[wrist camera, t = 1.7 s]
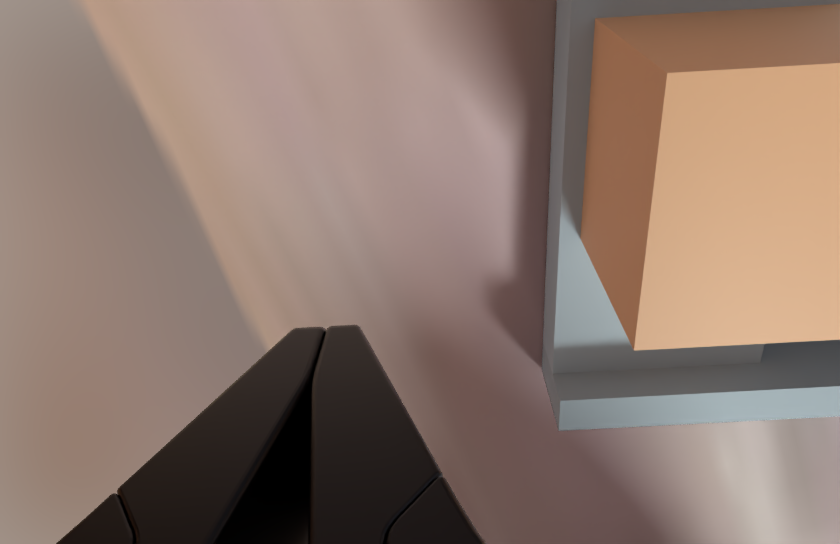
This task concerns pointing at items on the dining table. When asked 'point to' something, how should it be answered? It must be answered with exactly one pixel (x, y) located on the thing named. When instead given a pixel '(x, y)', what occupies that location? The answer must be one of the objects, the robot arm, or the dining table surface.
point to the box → (594, 314)
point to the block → (716, 175)
